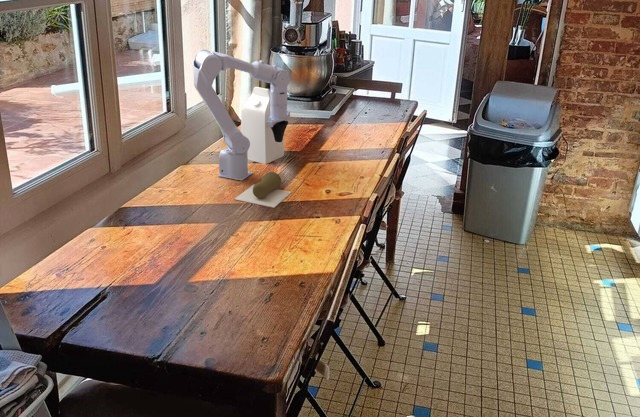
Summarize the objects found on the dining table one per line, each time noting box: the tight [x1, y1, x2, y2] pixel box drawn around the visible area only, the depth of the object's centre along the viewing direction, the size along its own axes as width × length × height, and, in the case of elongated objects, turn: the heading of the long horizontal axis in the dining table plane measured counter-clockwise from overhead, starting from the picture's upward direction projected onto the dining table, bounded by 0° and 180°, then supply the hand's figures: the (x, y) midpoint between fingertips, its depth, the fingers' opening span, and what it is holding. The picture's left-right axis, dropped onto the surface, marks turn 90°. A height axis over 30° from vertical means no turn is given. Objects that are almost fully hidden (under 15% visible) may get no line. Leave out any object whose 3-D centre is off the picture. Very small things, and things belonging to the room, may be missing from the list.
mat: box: [233, 184, 292, 209], centre depth 199 cm, size 14×13×1 cm
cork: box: [253, 171, 282, 199], centre depth 199 cm, size 6×6×11 cm
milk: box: [240, 86, 285, 165], centre depth 227 cm, size 12×12×26 cm
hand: (278, 141), depth 216 cm, fingers closed
